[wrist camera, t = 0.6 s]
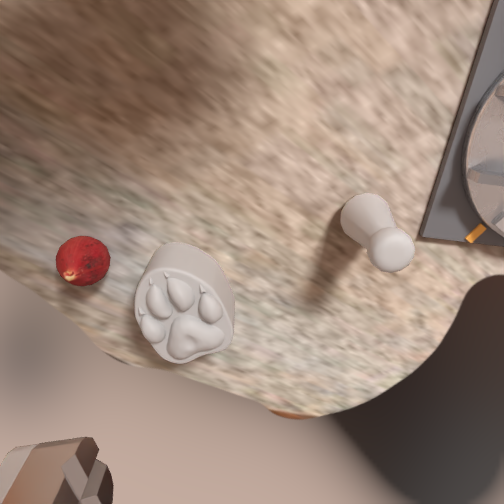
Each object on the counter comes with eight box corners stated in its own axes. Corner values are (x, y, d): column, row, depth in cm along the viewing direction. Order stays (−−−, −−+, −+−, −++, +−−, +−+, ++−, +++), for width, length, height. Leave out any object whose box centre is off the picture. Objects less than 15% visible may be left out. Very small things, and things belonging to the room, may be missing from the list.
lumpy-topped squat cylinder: (174, 336, 58) (163, 379, 50) (128, 258, 53) (108, 292, 45) (243, 311, 57) (243, 352, 49) (203, 228, 51) (195, 259, 44)
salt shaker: (390, 220, 51) (434, 268, 39) (347, 240, 52) (377, 292, 40) (374, 179, 49) (414, 216, 37) (329, 200, 50) (354, 243, 38)
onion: (107, 221, 51) (83, 248, 44) (124, 262, 53) (105, 294, 46) (62, 232, 51) (32, 260, 44) (81, 272, 54) (56, 306, 46)
